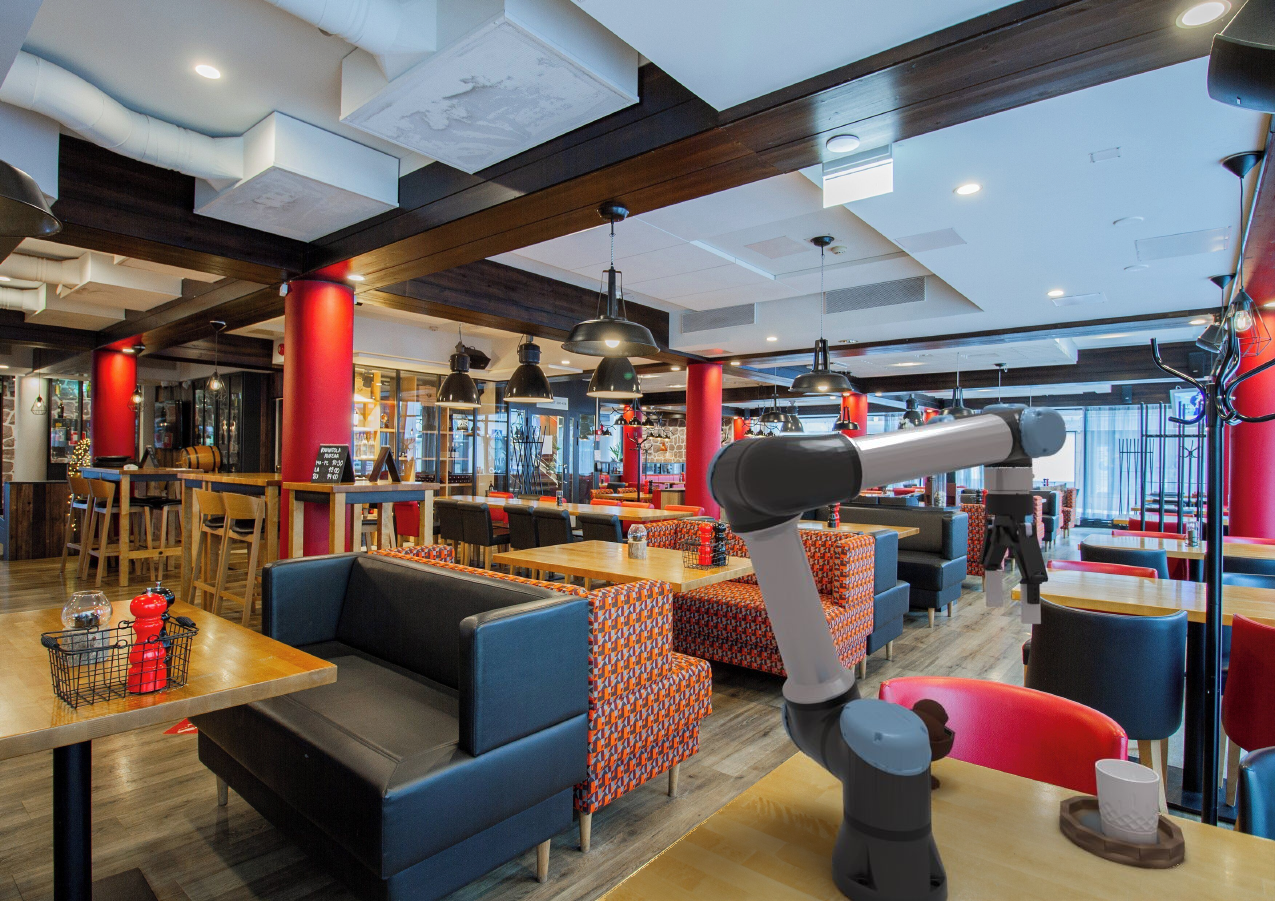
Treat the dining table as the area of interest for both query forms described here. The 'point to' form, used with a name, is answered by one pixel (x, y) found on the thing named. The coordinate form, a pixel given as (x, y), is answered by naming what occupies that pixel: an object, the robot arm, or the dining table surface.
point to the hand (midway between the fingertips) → (1011, 614)
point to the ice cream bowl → (935, 731)
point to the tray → (1086, 832)
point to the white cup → (1128, 800)
